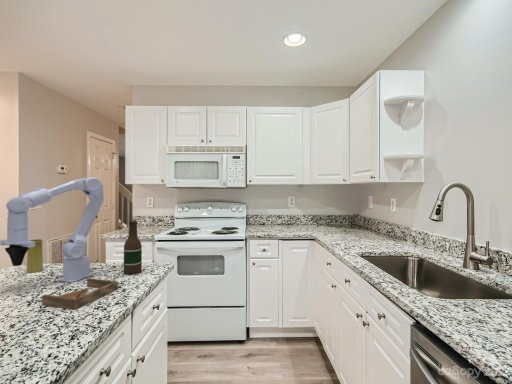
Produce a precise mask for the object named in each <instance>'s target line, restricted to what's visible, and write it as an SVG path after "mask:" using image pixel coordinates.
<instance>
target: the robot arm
mask: <svg viewBox="0 0 512 384" xmlns="http://www.w3.org/2000/svg"><path fill="white" fill-rule="evenodd" d="M73 190H76V191H77V190H78V191H79V190H81V191H82V192H83V193H84V194H86V196H87V198H88V199H89V201H88V203H87V205H86V207H85V209H84V212H83V213H82V215H81V218H80V219H79V222H78V223H77V226H76V228H75V230H74V232H73V233H72V235H71V236H69V239H68V240H67V241H66V242H65V243H63V245H62V247H61V252H62V253H63V254H64V256H63V260H62V261H63V262H62V274H63V275H62V277H61V278H58V279H57V281H58V282H67V283H74V282H77V281H79V280H82V279H87V278H88V277H90V276H92V275H93V274H91V259H90V257H89V256H88V255H85V253H86V251H87V250H86V246H87V243H88V239H87V237H88V236H89V233H90V230H91V229H92V227H93V225H94V222H95V220H96V218H97V216H98V213H99V212H100V210H101V207H102V205H103V203H104V201H105V198H104V185H103V183H102V181H101V180H100V179H99V178H98V177H95V176H91V177H83V178H80V179H79V178H77V179H75V180H71V181H67V182H66V183H63V184H60V185H58V186H55V187H52V188H49V189H47V188H44V187H43V188H40V187H37V188H35V189H34V190H32V191H30V192H28V193H21V194H19V196H16V197H11V198H10V199H9V200H7V202H6V204H5V206H6V209H7V210H8V211H7V218H6V219H7V223H6V226H7V227H6V228H7V229H6V233H7V234H6V239H1V240H0V246H8V247H5V248H4V251H5V252H6V254H8V256H9V258H10V261H11V265H12V266H13V267H18V266H22V265H23V262H24V258H25V256H26V254H27V253H28V249H29V248H30V247H35V241H30V240H31V239H28V238H29V216H28V211H29V209H30V208H31V209H33V208H35V207H38V206H41V205H43V204H46V203H49V202H51V201H52V198H53V197H55V196H58V195H59V196H60V195H61V194H64V193H68V192H70V191H73Z"/></svg>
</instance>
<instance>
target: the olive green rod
mask: <svg viewBox="0 0 512 384" xmlns="http://www.w3.org/2000/svg"><path fill="white" fill-rule="evenodd" d="M29 240H30V241H35V247H30V248H29V249H28V251H27V253H26V254H27V257H26V258H27V259H26V269H25V270H26V271H25V272H26V273H27V274H31V273H38V272H42V271H44V263H43V259H44V257H43V239H42V238H41V239H40V238H38V239H29Z"/></svg>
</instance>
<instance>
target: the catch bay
mask: <svg viewBox="0 0 512 384" xmlns="http://www.w3.org/2000/svg"><path fill="white" fill-rule="evenodd" d="M86 287H87V288H94V289H95V290H93V291H91V292H87V293H86V294H85V295H83V296H81V297H78V298H76V299H74V298H67V297H59V296H60V295H52V294H51V295H50V294H43V295H41V304H42V305H43V306H47V307H54V308H61V309H67V310H78V309H80V308H82V307H84V306H86V305H89V304H91V303H92V302H95V301H96V300H99V299H101V298H103V297H105V296H107V295H109V294H111V293H113V292H115V291H117V290H119V281H117V280H109V279H108V280H107V279H101V278H99V279H97V278H91V277H90V278H86Z"/></svg>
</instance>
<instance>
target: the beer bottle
mask: <svg viewBox="0 0 512 384" xmlns="http://www.w3.org/2000/svg"><path fill="white" fill-rule="evenodd" d="M128 225H129V226H128V236H127V238H126V241H125V242H124V245H123V274H124V275H127V276H133V275H138V274H140V273H142V265H143V264H142V263H143V262H142V259H143V257H142V256H143V255H142V254H143V252H142V250H143V248H142V247H143V246H142V243H141V241H140V239H139V235H138V226H137V225H138V221H137V220H136V219H135V220H129V221H128Z"/></svg>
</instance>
